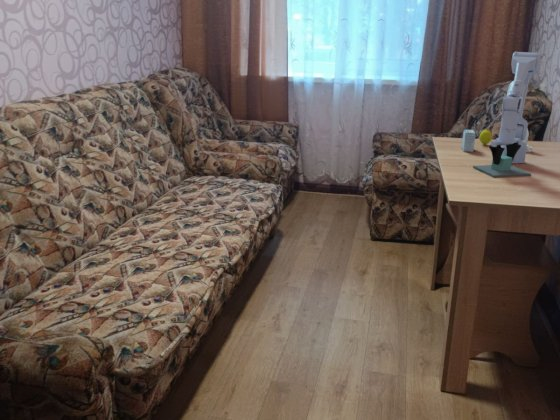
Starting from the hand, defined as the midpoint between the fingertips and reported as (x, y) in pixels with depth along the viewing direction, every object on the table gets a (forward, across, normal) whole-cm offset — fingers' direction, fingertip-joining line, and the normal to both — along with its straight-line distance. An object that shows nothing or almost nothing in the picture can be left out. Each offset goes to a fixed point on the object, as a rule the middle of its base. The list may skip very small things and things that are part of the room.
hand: (502, 163), depth 208 cm
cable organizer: (+4, -39, -22) cm, 45 cm away
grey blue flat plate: (+3, 0, 0) cm, 3 cm away
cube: (+3, 0, 0) cm, 3 cm away
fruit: (+4, -33, -36) cm, 49 cm away
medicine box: (+4, -17, -32) cm, 37 cm away
